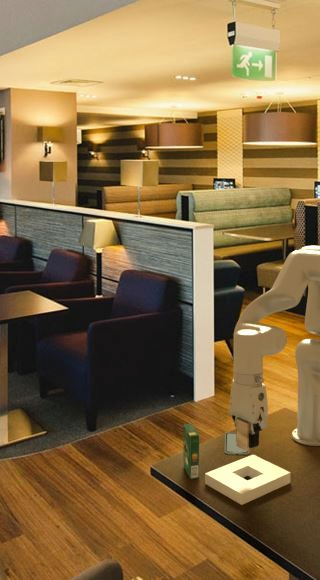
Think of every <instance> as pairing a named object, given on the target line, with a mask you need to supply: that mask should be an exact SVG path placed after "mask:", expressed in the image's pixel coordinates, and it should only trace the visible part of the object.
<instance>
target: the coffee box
mask: <svg viewBox="0 0 320 580" xmlns="http://www.w3.org/2000/svg"><path fill="white" fill-rule="evenodd" d="M182 437H183V438H182V439H183V441H182V442H183V443H182V444H183V448H182V449H183V468H184V470H185V472H186V474H187V475H188V477H189V480H198V479H200V433H198V431H197V430H196V428H195V426H194V425H193V423H185V424H183V425H182Z"/></svg>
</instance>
